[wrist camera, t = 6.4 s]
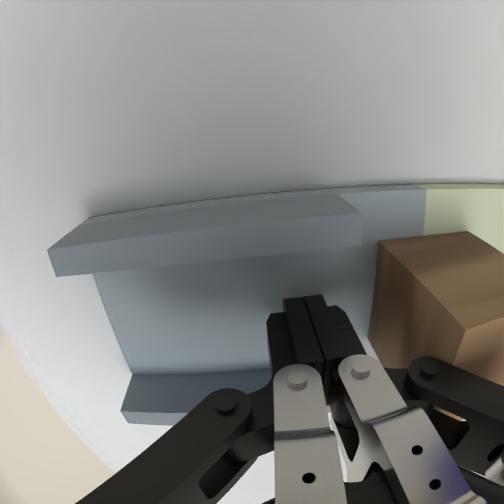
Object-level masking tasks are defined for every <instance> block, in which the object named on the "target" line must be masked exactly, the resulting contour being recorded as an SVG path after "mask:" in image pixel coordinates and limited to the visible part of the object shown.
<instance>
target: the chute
mask: <svg viewBox="0 0 504 504" xmlns="http://www.w3.org/2000/svg"><path fill="white" fill-rule="evenodd" d="M464 231H469V232H471V233H472V234H474V235H476V236H477V237H479V238H480V239H482V240H483V241H485V242H487V243H488V244H490V245H491V246H493V247H494V248H496V249H497V250H499V251H500V252H502V253H503V254H504V184H408V185H381V186H360V187H342V188H327V189H313V190H300V191H288V192H277V193H266V194H256V195H247V196H237V197H228V198H220V199H211V200H203V201H195V202H187V203H180V204H173V205H166V206H159V207H152V208H145V209H139V210H132V211H126V212H120V213H114V214H108V215H102V216H96V217H91V218H88V219H87V220H85V221H84V222H83V223H81V224H80V225H79V226H77V227H76V228H75V229H73V230H72V231H71V232H69V233H68V234H67V235H66V236H64V237H63V238H62V239H60V240H59V241H58V242H57V243H55V244H54V245H53V246H52V247H50V248H49V249H48V250H47V251H48V254H49V257H50V260H51V263H52V266H53V269H54V272H55V275H56V277H60V276H70V275H80V274H91V273H93V276H94V279H95V282H96V285H97V288H98V291H99V294H100V296H101V299H102V302H103V305H104V308H105V310H106V313H107V316H108V318H109V321H110V323H111V326H112V328H113V331H114V333H115V336H116V338H117V341H118V343H119V345H120V348H121V350H122V352H123V355H124V357H125V359H126V361H127V364H128V366H129V368H130V370H131V372H132V377H131V380H130V383H129V386H128V389H127V392H126V395H125V398H124V401H123V405H122V408H121V413H122V414H123V416H124V417H125V419H126V421H127V422H128V423H133V424H149V425H175V424H176V423H178V422H179V421H180V420H181V419H182V418H183V417H184V416H185V415H187V414H188V413H189V412H190V411H191V410H192V409H193V408H194V407H196V406H197V405H198V404H199V403H200V402H201V401H202V400H203V399H204V398H205V397H207V396H208V395H209V394H210V393H212V392H214V391H216V390H219V389H224V388H234V389H238V390H240V391H242V392H244V393H245V394H249V393H252V392H255V391H257V390H260V389H261V388H263V387H264V386H266V385H267V384H268V383H269V381H270V380H271V378H272V375H271V367H270V360H269V353H268V340H267V327H266V321H267V319H268V317H269V315H270V313H277V312H283V307H282V299H285V298H294V297H303V296H310V295H318V294H322V295H323V298H324V300H325V302H326V304H327V306H333V305H337V306H338V307H340V308H341V309H342V310H344V311H345V312H346V314H347V316H348V318H349V320H350V322H351V324H352V326H353V328H354V330H355V331H356V333H357V335H358V337H359V339H360V341H361V343H362V345H363V347H364V349H365V351H366V353H367V355H368V356H371V357H373V358H375V359H377V360H378V361H379V359H378V357H377V355H376V354H375V352H374V350H373V348H372V346H371V344H370V342H369V340H368V332H369V326H370V319H371V311H372V303H373V295H374V286H375V276H376V265H377V252H378V241H381V240H390V239H400V238H409V237H418V236H427V235H436V234H445V233H455V232H464ZM379 362H380V361H379ZM326 408H327V413H329V412H331V409H330V406H326Z"/></svg>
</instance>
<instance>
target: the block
mask: <svg viewBox="0 0 504 504" xmlns="http://www.w3.org/2000/svg"><path fill="white" fill-rule="evenodd" d="M368 340H369V342H370V344H371V346H372V348H373V350H374V352H375V354H376V355H377V357H378V359H379V361H380V363H381V365H382V366H383V367H386V368H398V369H408V368H409V365H410V363H411V362H412V361H413V360H414V359H416V358H419V357H423V356H430V357H434V358H437V359H439V360H442V361H444V362H447V363H449V364H451V365H454V366H456V367H458V368H461V369H463V370H466V371H468V372H470V373H473V374H475V375H478V376H480V377H482V378H485V379H487V380H490V381H492V382H495V383H497V384H500V385H502V386H504V254H503V253H502V252H500V251H499V250H497V249H496V248H494V247H493V246H491V245H490V244H488V243H487V242H485V241H483V240H482V239H480V238H479V237H477V236H476V235H474V234H472V233H471V232H469V231H464V232H455V233H445V234H436V235H427V236H418V237H409V238H400V239H390V240H381V241H378V252H377V265H376V276H375V286H374V295H373V303H372V311H371V319H370V326H369V332H368ZM434 409H435V410H437V411H440V412H442V413H444V414H446V415H448V416H450V417H453V418H455V419H457V420H459V421H460V420H463V418H461V417H459V416H456V415H454V414H452V413H450V412H447V411H445V410H443V409H441V408H439V407H437V406H435V407H434Z"/></svg>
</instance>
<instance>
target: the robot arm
mask: <svg viewBox="0 0 504 504" xmlns="http://www.w3.org/2000/svg"><path fill="white" fill-rule="evenodd" d="M282 307H283V312H277V313H270V315H269V317H268V319H267V321H266V327H267V340H268V353H269V360H270V367H271V375H272V378H271V380H270V381H269V383H268V384H267V385H266V386H264V387H263V388H261V389H260V390H257V391H255V392H252V393H249V394H245V393H244V392H242V391H240V390H238V389H234V388H224V389H219V390H216V391H214V392H212V393H210V394H209V395H208V396H207V397H205V398H204V399H203V400H202V401H201V402H200V403H199V404H198V405H197V406H196V407H194V408H193V409H192V410H191V411H190V412H189V413H188V414H187V415H185V416H184V417H183V418H182V419H181V420H180V421H179V422H178V423H176V424H175V425H174V426H173V427H172V428H171V429H169V430H168V431H167V432H166V433H165V434H164V435H162V436H161V437H160V438H159V439H158V440H157V441H155V442H154V443H153V444H152V445H151V446H149V447H148V448H147V449H146V450H145V451H143V452H142V453H141V454H140V455H138V456H137V457H136V458H135V459H134V460H132V461H131V462H130V463H129V464H127V465H126V466H125V467H123V468H122V469H121V470H120V471H118V472H117V473H116V474H115V475H113V476H112V477H111V478H110V479H108V480H107V481H105V482H104V483H103V484H101V485H100V486H99V487H97V488H96V489H95V490H93V491H92V492H91V493H89V494H88V495H87V496H85V497H84V498H82V499H81V500H80V501H78V502H77V503H75V504H216V503H217V502H218V501H219V500H220V499H221V498H222V497H223V496H224V495H225V494H226V493H227V492H228V491H229V490H230V489H231V488H232V487H233V486H234V485H235V483H236V482H237V481H238V480H239V479H240V478H241V477H242V476H243V475H244V474H245V472H246V471H247V470H248V469H249V468H250V467H251V466H252V464H253V463H254V462H255V461H256V459H257V458H258V456H261V455H263V454H266V453H268V452H271V451H273V450H274V459H275V498H273V499H271V500H268V501H266V502H264V503H262V504H504V386H502V385H500V384H497V383H495V382H492V381H490V380H487V379H485V378H482V377H480V376H478V375H475V374H473V373H470V372H468V371H466V370H463V369H461V368H458V367H456V366H454V365H451V364H449V363H447V362H444V361H442V360H439V359H437V358H434V357H430V356H423V357H419V358H416V359H414V360H413V361H412V362H411V363H410V365H409V368H408V369H398V368H386V367H383V366H382V365H381V363H380V362H379V361H378V360H377V359H375V358H373V357H371V356H368V355H367V353H366V351H365V349H364V347H363V345H362V343H361V341H360V339H359V337H358V335H357V333H356V331H355V330H354V328H353V326H352V324H351V322H350V320H349V318H348V316H347V314H346V312H345V311H344V310H342V309H341V308H340V307H338V306H337V305H333V306H327V304H326V302H325V300H324V298H323V295H322V294H318V295H310V296H303V297H294V298H285V299H282ZM326 406H330V409H331V413H332V414H331V420H330V423H331V426H332V429H333V431H331V429H330V425H329V419H328V413H327V408H326ZM435 406H437V407H439V408H441V409H443V410H445V411H447V412H450V413H452V414H454V415H456V416H459V417H461V418H463V419H465V420H467V421H459V420H457V419H455V418H453V417H450V416H448V415H446V414H444V413H442V412H440V411H437V410H435V409H434V407H435ZM337 442H338V444H337ZM338 445H339V448H340V450H341V453H342V456H343V458H344V461H345V464H346V467H347V479H348V482H344V480H343V474H342V468H341V462H340V456H339V450H338ZM457 464H458V465H457ZM459 465H460V466H459ZM461 466H462V467H461ZM463 467H464V468H463ZM465 468H467V469H469V470H471V471H469V470H467V469H465ZM472 471H474V472H476V473H478V474H481V475H483V476H485V477H486V478H484V477H482V476H480V475H478V474H476V473H474V472H472Z"/></svg>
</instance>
